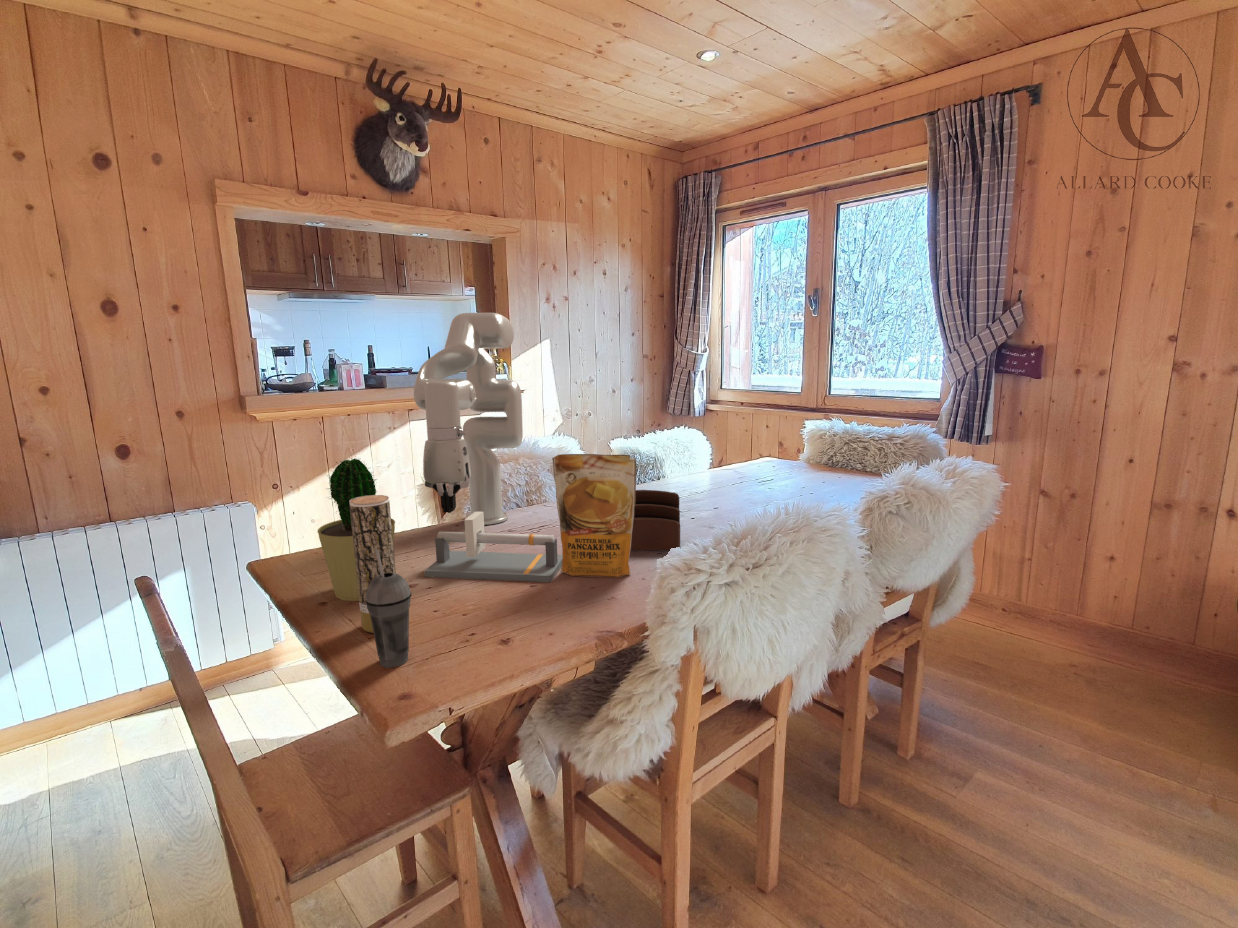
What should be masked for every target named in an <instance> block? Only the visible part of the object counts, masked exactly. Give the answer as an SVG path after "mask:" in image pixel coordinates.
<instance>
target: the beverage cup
mask: <svg viewBox="0 0 1238 928" xmlns="http://www.w3.org/2000/svg"><path fill="white" fill-rule="evenodd" d="M376 556H377V560H378V565H379V569H380V574H381V575H378V576H377V577H375V578H374V579H373V580H372V581H371V583H370V584H369V586H368V588H367V592H366V600H365V603H366V604H367V609H368V612H369V613H370V617H371V622H372V627H373V632H374V633H373V638H374V642H375V645H376V646H375V648H376V652H377V656H378V660H379V665H380V666H381V667H383V668H397V667H400V666H402V665H405V663H407V662H408V661H407V660H409V651H410V650H409V647H410V646H409V645H410V642H409V641H410V640H409V639H410V635H409V634H410V633H409V632H410V630H409V629H410V627H409V626H410V606H411V597H412V591H411V589H410V586H409V584H408V582H407V580H406V579H405V578H404V577H402V575H400V574H399V573H396V574H395V573H384V572H383V568H382V563H381V559H380V554H379V550H376Z"/></svg>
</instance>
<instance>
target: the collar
mask: <svg viewBox="0 0 1238 928" xmlns="http://www.w3.org/2000/svg"><path fill="white" fill-rule="evenodd" d="M470 514H471V513H470ZM466 517H467V516H466ZM466 517H465V519H464V532H465V537H466V543H465V547H466V553H467V557H475V556H477V555H478V554H479V553H480V552H483V550H484V549H486V543H477V533H486V531H485V525H484V513H483V512H474V513H473V514H471V515H470V516H469V517H467V518H466Z"/></svg>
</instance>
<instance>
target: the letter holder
mask: <svg viewBox="0 0 1238 928" xmlns="http://www.w3.org/2000/svg"><path fill="white" fill-rule="evenodd" d="M680 517H681V511H680V496H679V493H676V492H671V491H665V490H654V489H653V490H651V489H636V501H635V507H634V520H633V529H632V539H631V549H630V551H658V550H670V549H671V548H676V547H680V548H681V522H680V521H681V520H680V519H681V518H680Z"/></svg>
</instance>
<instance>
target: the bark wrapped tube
mask: <svg viewBox="0 0 1238 928" xmlns="http://www.w3.org/2000/svg"><path fill="white" fill-rule="evenodd" d="M389 498H390V497H389V496H388V495H382V494H375V495H369V496H362V497H357V498H354V499H351V500H350V501H349V502H350V504H349V505H350V515H351V525H352V535H353V545H354V555H355V565H356V575H357V584H358V594H359V601H358V602H359V603H358V604H359V612H360V619H361V627H362V629H363V630H364V632H366V633H373V634H374V632H373V627H372V622H371V617H370V613H369V612H368V609H367V604H366V603H365V600H366V592H367V588H368V586H369V584H370V583H371V581H372V580H373V579H374V578H375V577H377V576H378V575H381V574H380V569H379V565H378V560H377V556H376V550H379V554H380V559H381V563H382V568H383V572H384V573H395V574H397V573H396V561H395V549H394V545H393V537H392V525H391V519H392V517H391V507H390V506H391V505H390V504H391V503H390V499H389Z"/></svg>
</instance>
